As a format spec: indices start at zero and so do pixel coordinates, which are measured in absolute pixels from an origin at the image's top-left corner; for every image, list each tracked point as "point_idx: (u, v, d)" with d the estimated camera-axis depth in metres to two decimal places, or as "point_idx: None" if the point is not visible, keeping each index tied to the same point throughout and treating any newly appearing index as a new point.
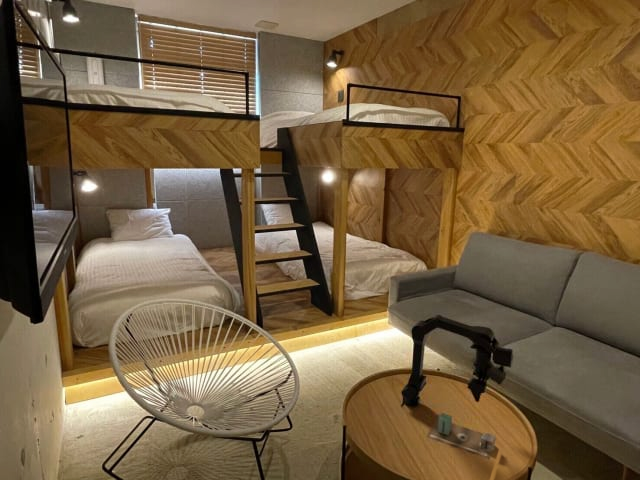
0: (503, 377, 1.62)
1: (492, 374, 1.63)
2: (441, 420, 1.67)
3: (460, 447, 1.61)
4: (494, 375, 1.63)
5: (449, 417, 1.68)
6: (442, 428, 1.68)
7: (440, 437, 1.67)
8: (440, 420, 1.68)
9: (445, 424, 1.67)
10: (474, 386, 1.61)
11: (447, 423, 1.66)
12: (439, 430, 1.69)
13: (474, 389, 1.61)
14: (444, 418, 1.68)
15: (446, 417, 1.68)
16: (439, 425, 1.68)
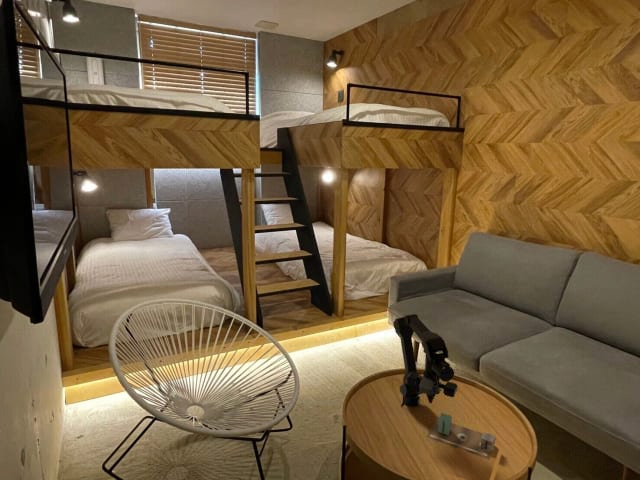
0: (421, 386, 1.62)
1: None
2: (441, 420, 1.67)
3: (460, 447, 1.61)
4: None
5: (449, 417, 1.68)
6: (442, 428, 1.68)
7: (440, 437, 1.67)
8: (440, 420, 1.68)
9: (445, 424, 1.67)
10: None
11: (447, 423, 1.66)
12: (439, 430, 1.69)
13: None
14: (444, 418, 1.68)
15: (446, 417, 1.68)
16: (439, 425, 1.68)
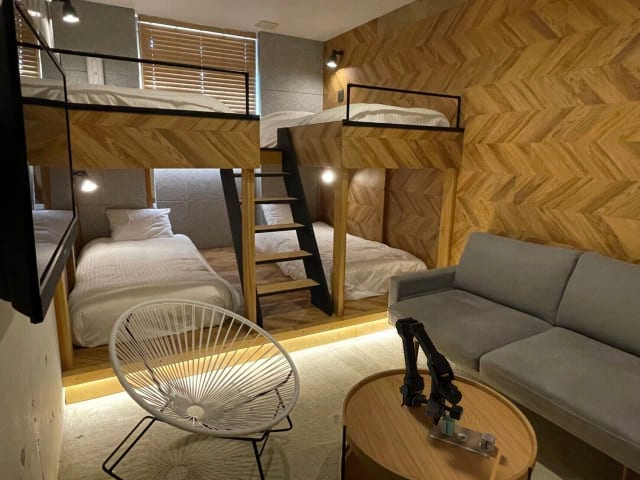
0: (427, 409, 1.63)
1: (428, 402, 1.66)
2: (445, 421, 1.67)
3: (460, 447, 1.61)
4: None
5: None
6: (445, 429, 1.67)
7: (440, 437, 1.67)
8: (444, 421, 1.67)
9: (449, 425, 1.66)
10: None
11: (451, 424, 1.66)
12: (443, 431, 1.68)
13: None
14: (448, 419, 1.67)
15: (449, 418, 1.68)
16: (443, 426, 1.68)
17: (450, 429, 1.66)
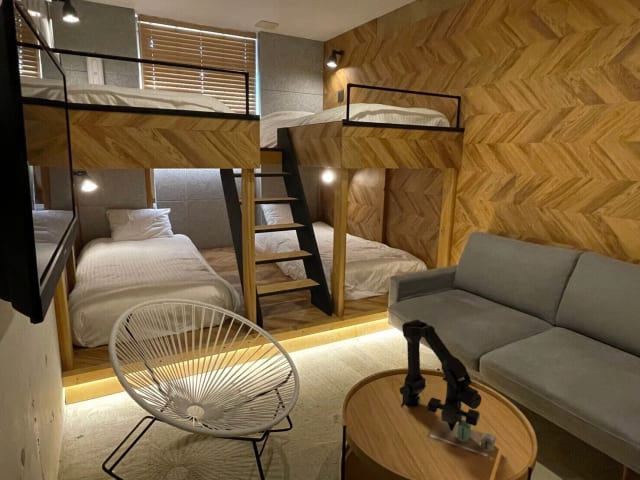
0: (443, 414, 1.60)
1: (444, 407, 1.63)
2: (460, 426, 1.64)
3: (460, 447, 1.61)
4: None
5: None
6: (461, 434, 1.64)
7: (440, 437, 1.67)
8: (459, 426, 1.64)
9: (465, 431, 1.63)
10: None
11: (467, 430, 1.63)
12: (458, 437, 1.65)
13: None
14: (463, 424, 1.64)
15: (465, 423, 1.65)
16: (458, 432, 1.65)
17: (466, 434, 1.63)
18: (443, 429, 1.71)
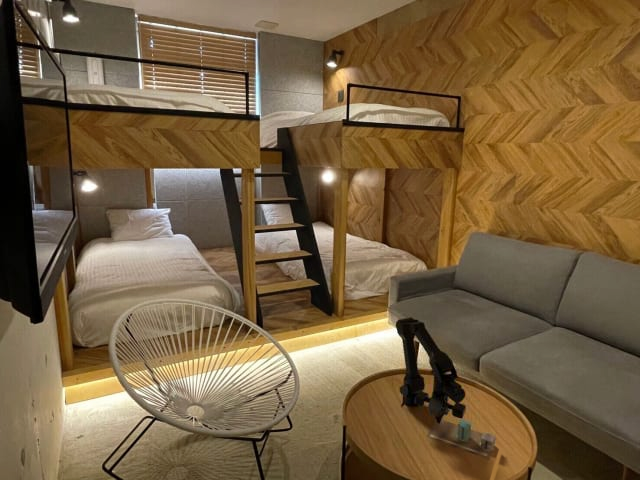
0: (430, 407, 1.62)
1: (430, 400, 1.65)
2: (460, 426, 1.64)
3: (460, 447, 1.61)
4: None
5: (469, 423, 1.64)
6: (461, 434, 1.64)
7: (440, 437, 1.67)
8: (459, 426, 1.64)
9: (465, 431, 1.63)
10: None
11: (467, 430, 1.63)
12: (458, 437, 1.65)
13: None
14: (463, 424, 1.64)
15: (465, 423, 1.65)
16: (458, 432, 1.65)
17: (466, 434, 1.63)
18: (443, 429, 1.71)
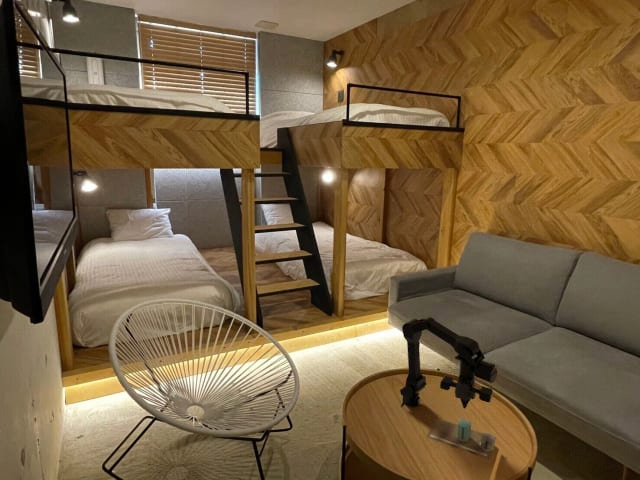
0: (457, 391, 1.60)
1: (457, 384, 1.63)
2: (460, 426, 1.64)
3: (460, 447, 1.61)
4: None
5: (469, 423, 1.64)
6: (461, 434, 1.64)
7: (440, 437, 1.67)
8: (459, 426, 1.64)
9: (465, 431, 1.63)
10: None
11: (467, 430, 1.63)
12: (458, 437, 1.65)
13: None
14: (463, 424, 1.64)
15: (465, 423, 1.65)
16: (458, 432, 1.65)
17: (466, 434, 1.63)
18: (443, 429, 1.71)
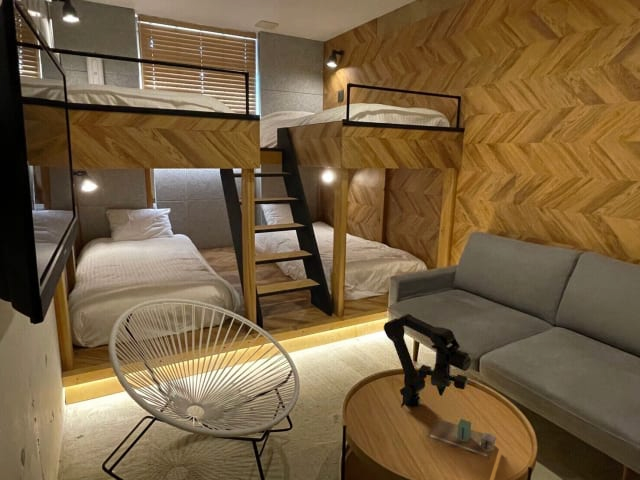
0: (432, 378, 1.67)
1: (433, 372, 1.70)
2: (460, 426, 1.64)
3: (460, 447, 1.61)
4: None
5: (469, 423, 1.64)
6: (461, 434, 1.64)
7: (440, 437, 1.67)
8: (459, 426, 1.64)
9: (465, 431, 1.63)
10: None
11: (467, 430, 1.63)
12: (458, 437, 1.65)
13: None
14: (463, 424, 1.64)
15: (465, 423, 1.65)
16: (458, 432, 1.65)
17: (466, 434, 1.63)
18: (443, 429, 1.71)
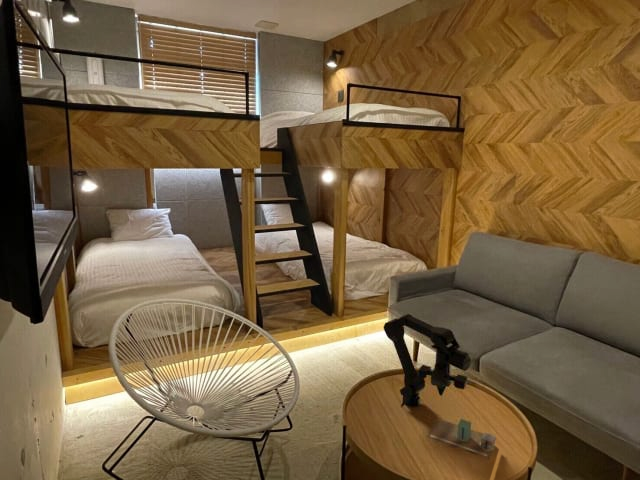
0: (432, 378, 1.67)
1: (433, 372, 1.70)
2: (460, 426, 1.64)
3: (460, 447, 1.61)
4: None
5: (469, 423, 1.64)
6: (461, 434, 1.64)
7: (440, 437, 1.67)
8: (459, 426, 1.64)
9: (465, 431, 1.63)
10: None
11: (467, 430, 1.63)
12: (458, 437, 1.65)
13: None
14: (463, 424, 1.64)
15: (465, 423, 1.65)
16: (458, 432, 1.65)
17: (466, 434, 1.63)
18: (443, 429, 1.71)
